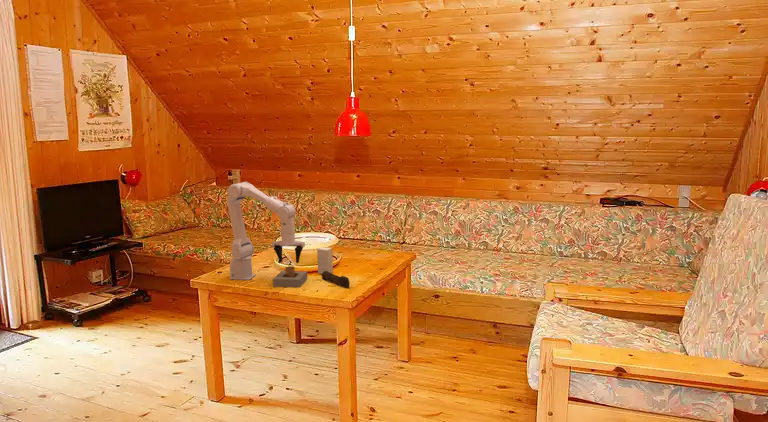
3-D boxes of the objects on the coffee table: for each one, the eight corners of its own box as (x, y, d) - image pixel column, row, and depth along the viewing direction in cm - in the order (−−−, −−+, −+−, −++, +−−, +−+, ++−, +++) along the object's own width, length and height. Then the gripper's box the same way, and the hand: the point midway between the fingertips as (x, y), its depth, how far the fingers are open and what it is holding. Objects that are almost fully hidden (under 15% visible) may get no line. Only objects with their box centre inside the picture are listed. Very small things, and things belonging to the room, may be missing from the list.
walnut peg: (284, 281, 245) (284, 268, 244) (287, 279, 249) (286, 266, 248) (293, 281, 244) (293, 268, 243) (296, 279, 248) (295, 266, 247)
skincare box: (333, 272, 261) (332, 248, 259) (328, 275, 257) (327, 250, 255) (323, 271, 264) (322, 246, 262) (317, 273, 260) (316, 248, 258)
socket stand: (273, 286, 242) (272, 278, 241) (282, 278, 253) (281, 271, 253) (299, 287, 240) (299, 279, 239) (307, 279, 252) (307, 271, 251)
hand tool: (321, 280, 251) (320, 270, 250) (328, 278, 253) (328, 268, 252) (343, 290, 236) (343, 280, 235) (351, 288, 238) (351, 278, 237)
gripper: (268, 234, 240) (270, 264, 242) (301, 234, 238) (302, 265, 240) (274, 230, 247) (275, 259, 249) (305, 231, 245) (307, 260, 247)
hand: (289, 262), depth 245 cm, fingers open, 7 cm apart
